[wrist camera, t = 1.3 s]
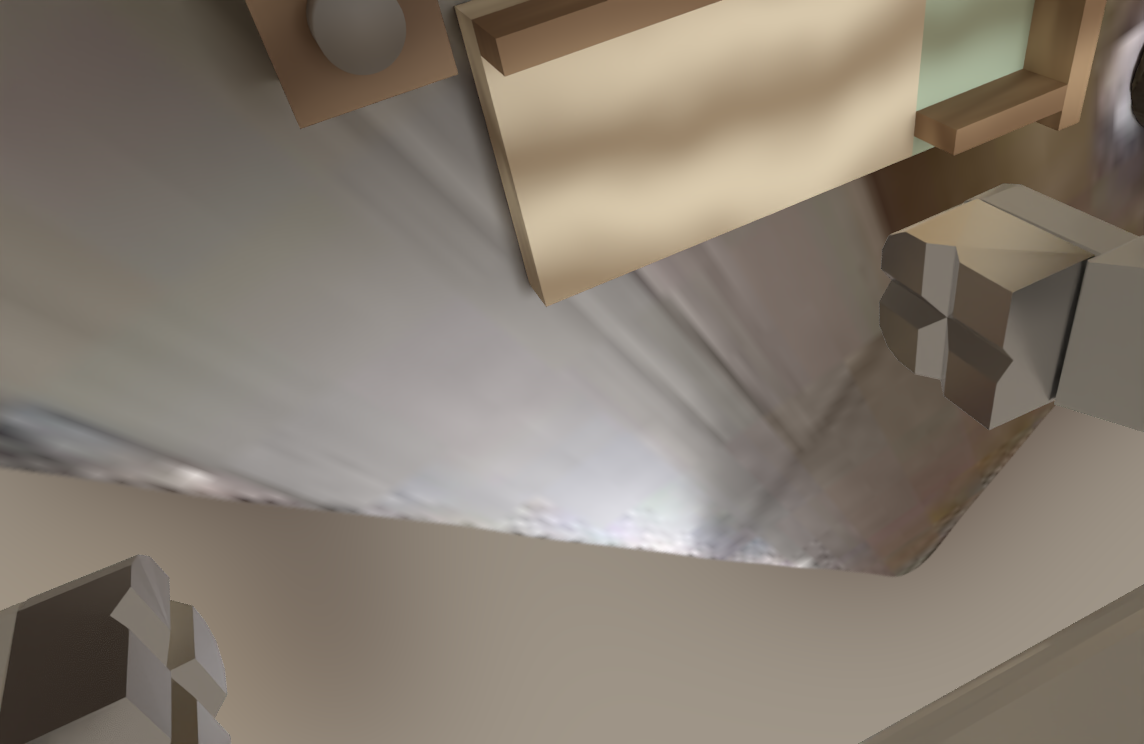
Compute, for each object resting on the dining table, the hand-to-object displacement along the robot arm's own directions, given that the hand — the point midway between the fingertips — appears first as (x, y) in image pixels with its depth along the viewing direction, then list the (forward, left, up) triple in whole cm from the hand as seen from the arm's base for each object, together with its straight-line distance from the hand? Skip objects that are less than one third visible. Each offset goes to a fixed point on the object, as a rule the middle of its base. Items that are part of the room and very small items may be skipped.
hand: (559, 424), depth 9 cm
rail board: (+8, +18, -24) cm, 31 cm away
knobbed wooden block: (0, +1, -24) cm, 24 cm away
